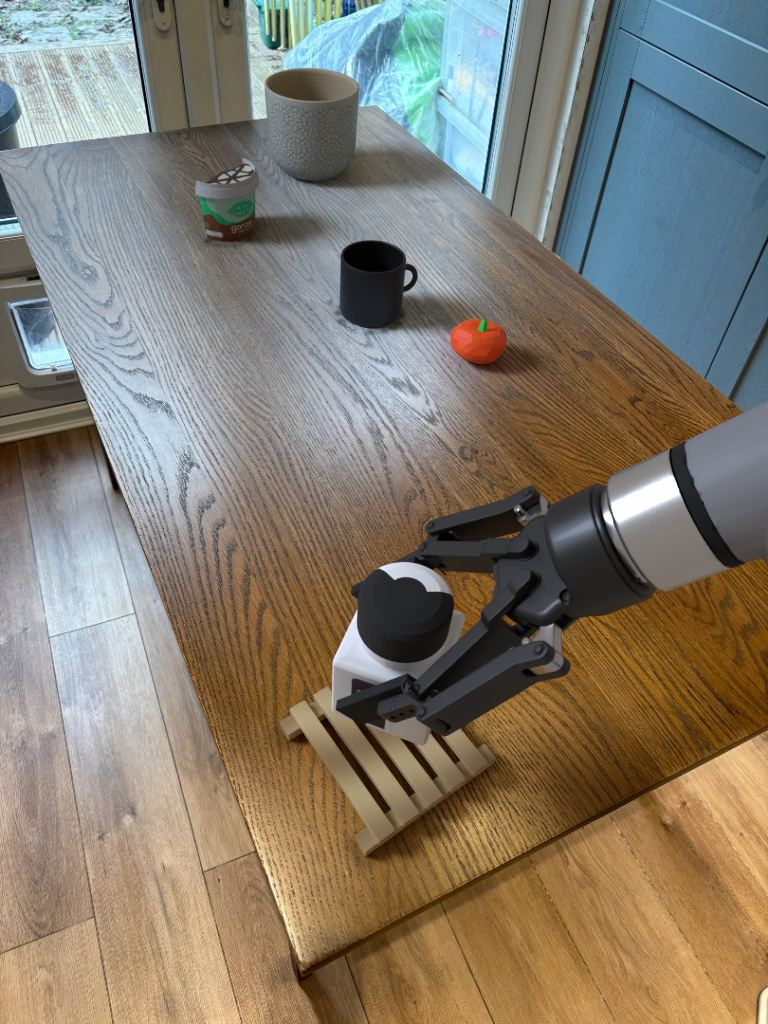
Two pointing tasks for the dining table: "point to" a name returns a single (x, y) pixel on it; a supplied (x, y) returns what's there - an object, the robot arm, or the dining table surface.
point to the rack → (385, 768)
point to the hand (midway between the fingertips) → (356, 652)
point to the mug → (373, 282)
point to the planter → (312, 121)
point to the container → (396, 636)
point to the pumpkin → (478, 340)
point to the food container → (229, 203)
